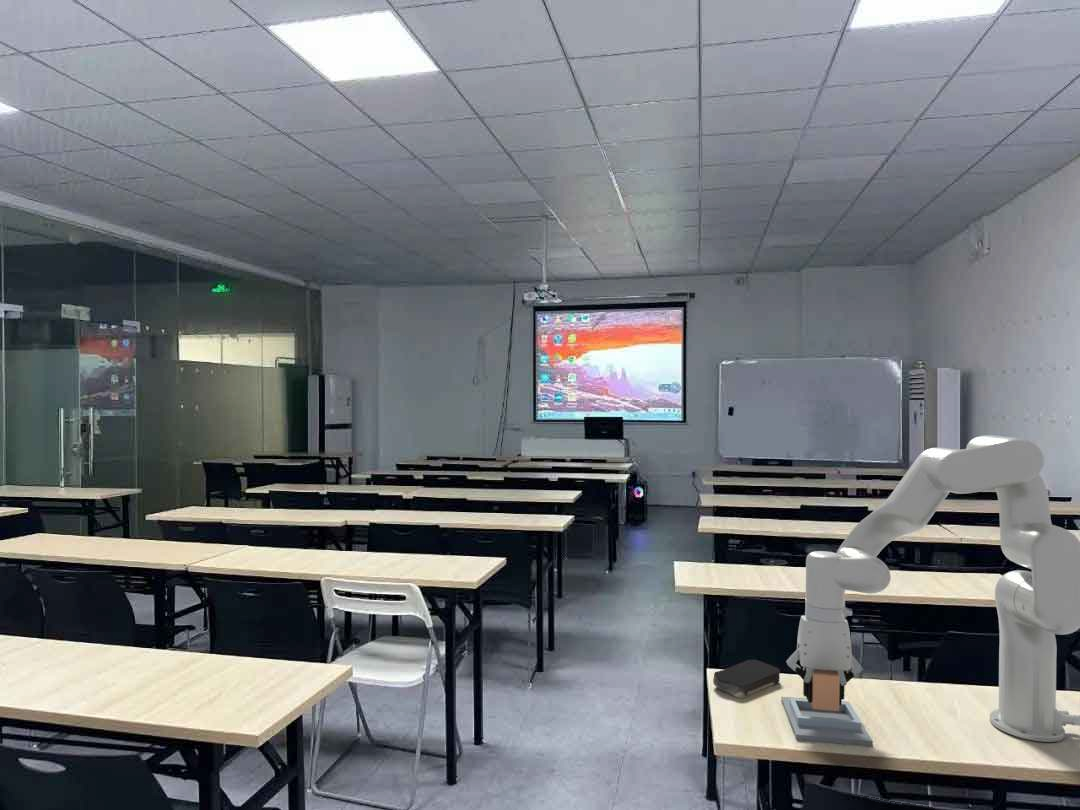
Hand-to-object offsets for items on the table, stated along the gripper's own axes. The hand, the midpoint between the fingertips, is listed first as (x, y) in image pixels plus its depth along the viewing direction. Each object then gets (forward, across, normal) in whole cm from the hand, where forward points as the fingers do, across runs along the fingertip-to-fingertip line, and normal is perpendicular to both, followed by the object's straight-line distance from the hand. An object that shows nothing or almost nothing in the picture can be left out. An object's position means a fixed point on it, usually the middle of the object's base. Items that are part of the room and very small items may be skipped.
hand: (823, 700), depth 145 cm
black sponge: (+5, +13, -17) cm, 22 cm away
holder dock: (+5, 0, 0) cm, 5 cm away
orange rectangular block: (+1, 0, 0) cm, 1 cm away
